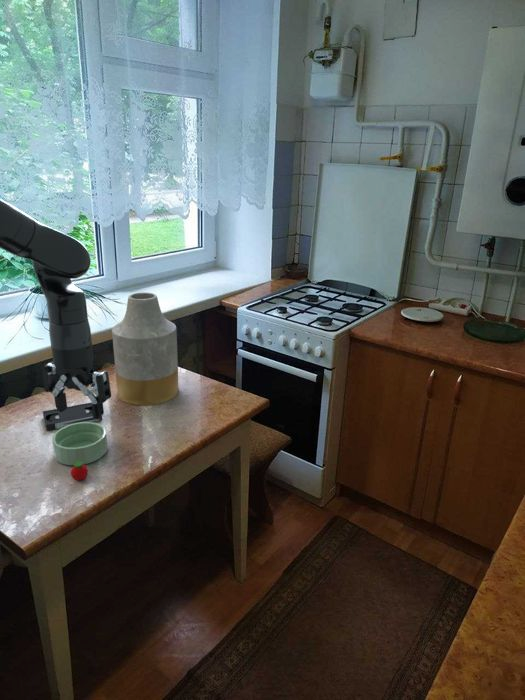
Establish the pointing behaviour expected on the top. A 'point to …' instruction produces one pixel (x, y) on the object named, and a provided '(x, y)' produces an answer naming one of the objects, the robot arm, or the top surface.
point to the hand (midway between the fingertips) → (80, 414)
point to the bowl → (79, 443)
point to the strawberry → (79, 471)
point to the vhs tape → (68, 416)
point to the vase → (145, 353)
